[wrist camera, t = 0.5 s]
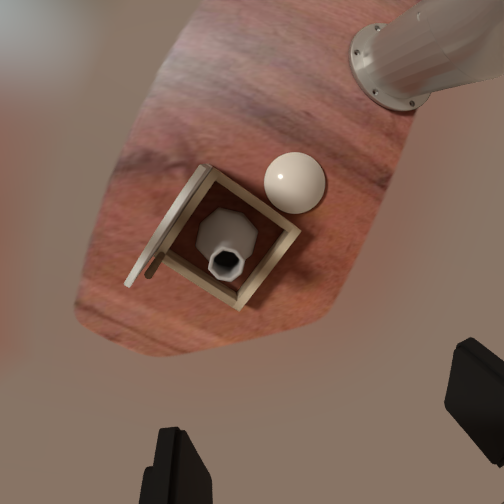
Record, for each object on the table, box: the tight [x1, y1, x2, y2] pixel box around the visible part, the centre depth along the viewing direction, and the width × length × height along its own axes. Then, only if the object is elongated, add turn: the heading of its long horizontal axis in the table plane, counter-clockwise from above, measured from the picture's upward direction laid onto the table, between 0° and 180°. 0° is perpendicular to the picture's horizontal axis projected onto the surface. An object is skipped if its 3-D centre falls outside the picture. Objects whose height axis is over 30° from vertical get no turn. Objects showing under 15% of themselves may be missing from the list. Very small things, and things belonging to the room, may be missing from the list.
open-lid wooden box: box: [124, 164, 301, 311], centre depth 32 cm, size 12×13×12 cm
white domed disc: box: [264, 152, 325, 214], centre depth 36 cm, size 7×7×1 cm
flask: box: [195, 207, 258, 282], centre depth 33 cm, size 7×7×10 cm
